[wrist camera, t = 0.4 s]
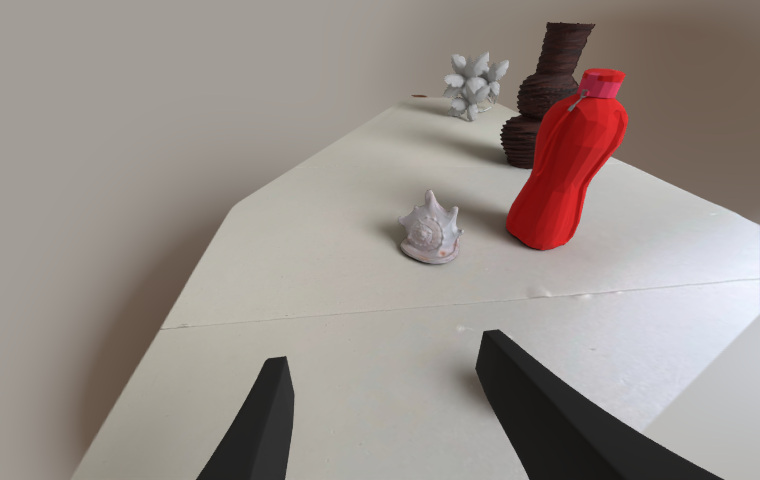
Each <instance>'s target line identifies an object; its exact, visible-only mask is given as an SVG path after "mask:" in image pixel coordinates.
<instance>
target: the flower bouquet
mask: <svg viewBox="0 0 760 480" xmlns="http://www.w3.org/2000/svg"><path fill="white" fill-rule="evenodd" d="M451 57H452V58H451V60H452V66H453V69H454V71H455V72H456V74H455V73H454V74H448V75H446V76H445V78H444V80H445V81H446V82H447V84H448V85H449V86H448V87H447V89H446V90H445V92H444V95H443V96H444V97H447V98H450V97H451V96H452V97H455V96H457V95H458V93H460V94H461V96H462V98H460V97H459V98H458V97H456V98H454V99H452V101H451V105H452V108H450V110H449V112H448V115H451V116H454V115H455V116H460V114H463V113H464V112H465V110H467V118H468V120H469V121H473V120H474V119H475V118H476V116H477V115H476V113H478V112H484V111H486V110H488V109H490V108H492V106H491V107H489V108H487V109H485V110H482V111H479V110H478V109H477V108H478V106H477V105H475V104H477V102H478V103H480V102H482V101H483V99H486V98H487V99H488V100H489V102H490V103H492V100H491V99H490V98H489V97H492V98H493V97H495V96H496V98H495V100H494V104H495V102H496V100H497V97H498V95H499V94H498V92H499V91H500V90H498V88H500V85H498V83H497V82H495V81H496V80H499V79H501V78H502V75H505V73H506V71H507V70H506V68H508V64H509V61H508V60H507V61H502V62H501V63H499V64H498V65H495V63H493V64H492V66H491V67H490V69H489V67H487V63H486V62H487V61H489V52H486V53H483V54H481V55H480V56H478V57H477V58H476V59H475V61H474V62H472V60H471V57H470V56H469V58H468V59H467V61H465V58H464V57H462V56H461V57H459V55H452V56H451ZM476 75H477V76H478V77H476ZM487 94H488V96H489V97H488V96H487Z"/></svg>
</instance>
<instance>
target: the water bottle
mask: <svg viewBox="0 0 760 480" xmlns="http://www.w3.org/2000/svg"><path fill="white" fill-rule="evenodd" d="M624 77H625V74H624V73H623V72H620V71H616V70H612V69H588V70H586V71H585V72H584V74H583V77H582V80H581V83H580V85H579V88H578V90H577V93H576V94H574V95H572V96H570V97H567V98H565V99H563V100H561V101H558V102H557V103H555V104H554V105H553V106H552V107H551V108H550V109H549V110H548V111H547V113H546V114H545V115H544V117H543V120H542V123H541V126H540V128H539V131H538V134H537V136H536V145H535V155H534V165H533V169H532V172H531V175H530V177H529V179H528V181H527V182H526V184H525V185H524V187H523V188H522V190H521V191H520V193H519V195H518V196H517V198H516V199H515V201H514V202H513V204H512V206H511V208H510V211H509V213H508V216H507V219H506V228H507V230H508V231H509V232H510V233H511V234H512V235H514V236H515V237H517V238H519V239H520V240H521V241H522V242H523V243H525V244H526V245H528V246H529V247H532V248H536V249H540V250H547V249H553V248H555V247H558V246H561V245H564V244H566V243H567V242H568V241H569V240H570V239H571V238H572V237H573V235H574V233H575V231H576V228H577V226H578V224H579V222H580V217H581V213H582V208H583V204H584V199H585V195H586V190H587V187H588V185H589V183H590V181H591V180H592V178H593V177H594V175H595V174H596V173H597V172H598V171H599V169H600V168H601V167H602V166H603V165H604V163H605V162H606V161H607V160H608V159H609V157H610V156H611V155H612V154H613V153H614V151H615V150H616V149H617V148H618V146H619V145H620V144H621V143H622V141H623V137H624V134H625V131H626V127H627V123H628V116H627V113H626V111H625V109H624V107H623V106H622V105H621V104H620V103H619V102H618V101H617V100H616V99H615V96H616V94H617V92H618V90H619V88H620V85H621V83H622V81H623V79H624Z"/></svg>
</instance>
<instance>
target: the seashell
mask: <svg viewBox="0 0 760 480" xmlns="http://www.w3.org/2000/svg"><path fill="white" fill-rule="evenodd" d="M425 200H426V204H425V205H423V206H420V207H418V206H415V207H414V210H413V212H412V213H411V214H409V215H407V216H404V217H399V218H398V221H399V223H400V224H401V225H403V226H405V229H406V231H407V235H408V237H407V238H405V239H404V240H403V241H402V243H401V249H402V251H403V252H404V253H406V254H407V255H409V256H411V257H413V258H415V259H417V260H419V261H422V262H427V263H431V264H438V263H447V262H449V261H451V260H453V259H454V258H455V257H456V256H457V254H458V251H459V236H461V235H462V234H463V232H464V230H460V229H458V228H457V226H456V217H457V213H458V207H457V206H453V207H452V209H451V211H447V210H445V209H444V208H442V207H441V206H440V205H439V203H438V202H437V201H436V199H435V197H434V194H433V192H432V190H427V192H426V194H425Z"/></svg>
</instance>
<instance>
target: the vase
mask: <svg viewBox="0 0 760 480" xmlns="http://www.w3.org/2000/svg"><path fill="white" fill-rule="evenodd" d="M594 26H595V24H579V23H577V24H569V23H561V22H560V23H549V22H548V24H547V26H546V28H547V32H546V34H545V38H544V41H543V42H544V44H543V46H542V50H543V51H542V52H541V56H540V57H539V63H538V64H537V69H536V71H537V72H536V73H535V74H534V75H530V76H529V77H527V79H526V80H524V81H523V84H522V85H520V89H521V90H520V91H519V92H518V93H519V95H518V96H517V98H518V99H519V101H517V104H518V106H517V108H518V109H519V110H520V111H519V113H520V114H522V115H519V116H518V117H511V119H510V120H507V121H506V125H503V129H501V131H502V132H503V133H502V134H500V136H501V137H502V138H500V140H501V141H503V143H501V145H502V146H503V147H504V148H503V149H504V150H505V151H506V152H505V154H506V155H507V156H508V157H507V159H508V163H510V164H512V165H514V166H515V167H520V168H526V169H532V168H533V165H534V155H535V145H536V136H537V134H538V131H539V128H540V126H541V123H542V120H543V117H544V115H545V114H546V113H547V111H548V110H549V109H550V108H551V107H552V106H553V105H554V104H555V103H557V102H558V101H561V100H563V99H565V98H567V97H570V96H572V95H574V94H576V93H577V90H578V86H579V85H578V84H577V82H576V81H575V80H574V78H573V77H572V74H573V72H574V69H575V68H576V66H577V62H578V60H579V59H578V58H579V57H580V55H581V52H582V51H581V50H582V49H583V48H584V47H585V44H586V42H587V37H588V36H589V35H590V33H591V29H593V28H594Z"/></svg>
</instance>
